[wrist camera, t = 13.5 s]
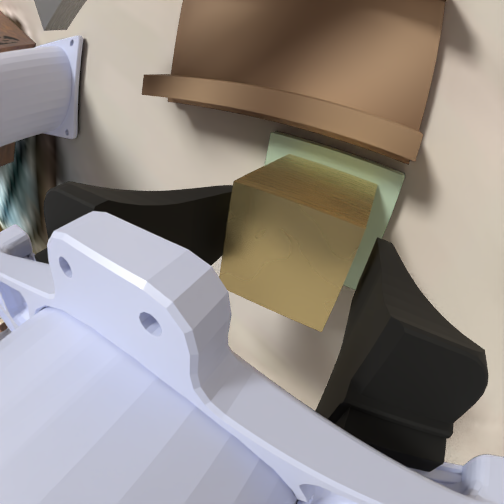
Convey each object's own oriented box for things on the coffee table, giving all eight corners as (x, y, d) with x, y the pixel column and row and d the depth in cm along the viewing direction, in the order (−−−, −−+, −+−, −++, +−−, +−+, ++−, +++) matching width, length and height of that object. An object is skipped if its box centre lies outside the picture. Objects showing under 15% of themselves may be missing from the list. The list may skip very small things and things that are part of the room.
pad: (254, 242, 17) (249, 247, 16) (275, 131, 13) (270, 132, 13) (360, 285, 15) (359, 291, 14) (404, 173, 12) (404, 176, 11)
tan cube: (271, 232, 15) (218, 285, 11) (289, 153, 13) (233, 181, 9) (348, 263, 14) (321, 332, 10) (377, 184, 12) (365, 229, 8)
